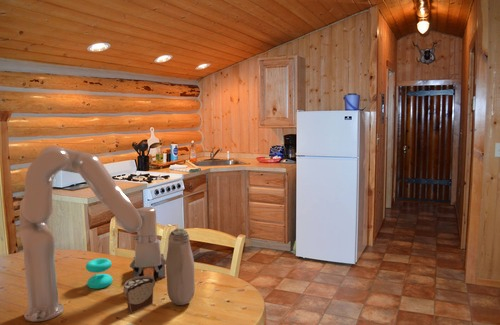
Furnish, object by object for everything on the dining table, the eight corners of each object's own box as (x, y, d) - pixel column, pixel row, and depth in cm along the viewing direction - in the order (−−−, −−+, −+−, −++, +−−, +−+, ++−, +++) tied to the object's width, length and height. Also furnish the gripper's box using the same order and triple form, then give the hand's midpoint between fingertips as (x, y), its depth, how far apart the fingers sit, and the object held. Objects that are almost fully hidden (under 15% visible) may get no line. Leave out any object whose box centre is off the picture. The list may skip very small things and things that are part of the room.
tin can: (155, 286, 167) (154, 267, 166) (142, 287, 166) (142, 268, 165) (155, 281, 172) (154, 262, 171) (142, 282, 171) (142, 263, 170)
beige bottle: (198, 305, 151) (195, 231, 147) (170, 311, 147) (166, 235, 144) (191, 294, 160) (189, 224, 156) (165, 299, 156) (162, 227, 153)
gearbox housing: (165, 277, 177) (164, 261, 176) (133, 281, 174) (133, 264, 173) (163, 266, 189) (163, 251, 188) (134, 269, 186) (133, 254, 185)
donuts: (106, 255, 177) (115, 261, 169) (107, 277, 178) (116, 285, 170) (82, 261, 170) (90, 268, 163) (83, 284, 172) (92, 292, 164)
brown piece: (145, 297, 158) (144, 272, 157) (155, 302, 154) (154, 276, 153) (117, 310, 149) (115, 283, 147) (127, 315, 145) (126, 288, 144)
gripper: (124, 242, 161) (126, 287, 163) (169, 239, 165) (170, 282, 167) (125, 237, 168) (127, 279, 170) (168, 233, 172) (169, 275, 174)
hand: (148, 280), depth 169 cm, fingers closed on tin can, 5 cm apart
